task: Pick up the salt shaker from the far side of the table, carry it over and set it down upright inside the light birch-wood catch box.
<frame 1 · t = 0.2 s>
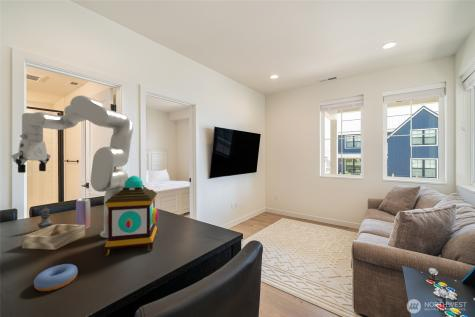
hand: (32, 171, 102), 30 cm above the table, tool pointing down, fingers open, 9 cm apart
salt shaker: (45, 230, 103), on the table
catch box: (56, 241, 90), on the table
doughnut: (56, 283, 61), on the table
decorative lantern: (133, 244, 88), on the table
beverage can: (83, 228, 107), on the table
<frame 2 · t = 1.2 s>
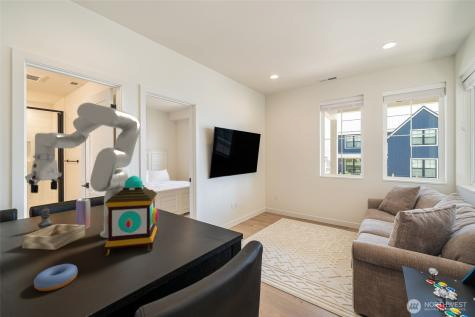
hand: (44, 191, 103), 20 cm above the table, tool pointing down, fingers open, 9 cm apart
nothing on the table moved.
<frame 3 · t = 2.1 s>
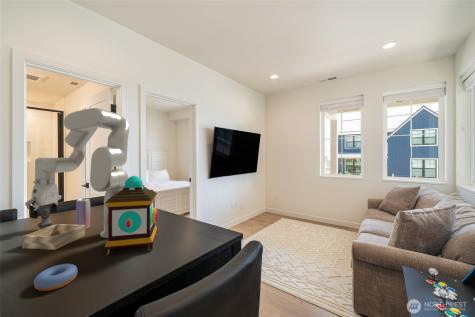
hand: (44, 215, 103), 8 cm above the table, tool pointing down, fingers open, 9 cm apart
nothing on the table moved.
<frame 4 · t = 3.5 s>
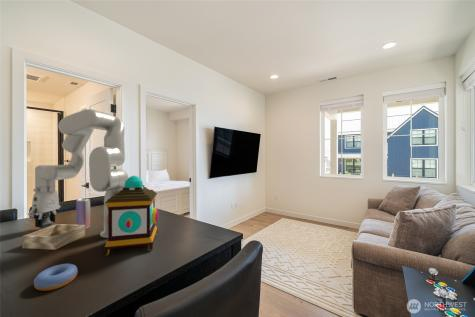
hand: (45, 224, 103), 3 cm above the table, tool pointing down, fingers closed on salt shaker, 5 cm apart
salt shaker: (45, 230, 103), on the table, touching gripper
everything else where it was.
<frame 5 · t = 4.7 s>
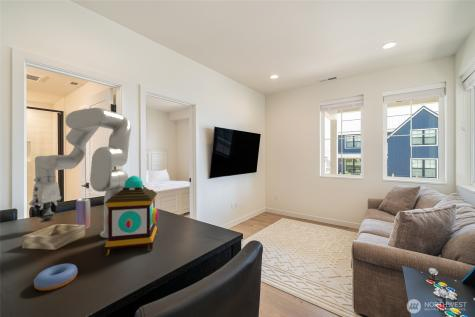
hand: (46, 214, 103), 8 cm above the table, tool pointing down, fingers closed on salt shaker, 5 cm apart
salt shaker: (47, 221, 103), point 5 cm above the table, touching gripper
everything else where it was.
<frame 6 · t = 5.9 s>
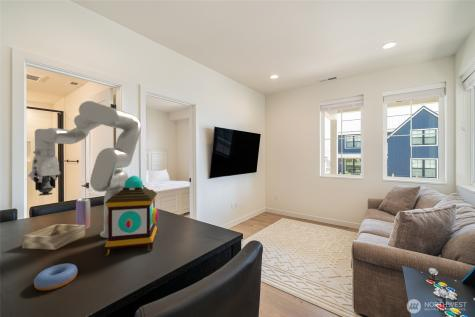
hand: (45, 188, 103), 21 cm above the table, tool pointing down, fingers closed on salt shaker, 5 cm apart
salt shaker: (45, 194, 103), point 18 cm above the table, touching gripper
everything else where it was.
when the fingers open (6 cm above the table, at t = 10.8 s): salt shaker drops 2 cm, resting on catch box.
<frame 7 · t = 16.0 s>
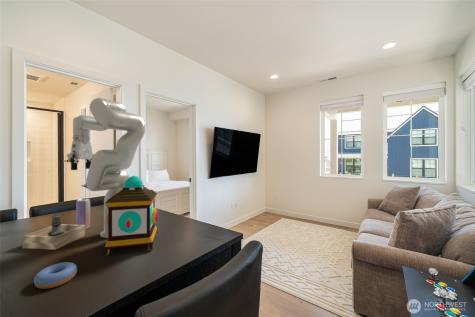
hand: (81, 169, 115), 30 cm above the table, tool pointing down, fingers open, 9 cm apart
salt shaker: (56, 240, 90), resting on catch box
doughnut: (56, 281, 62), on the table
everything else where it was.
at the end: salt shaker inside the target area on the catch box (0.1 cm from its centre), point 0.4 cm above the catch box's base; salt shaker tilted 0°; the gripper is holding nothing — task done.
